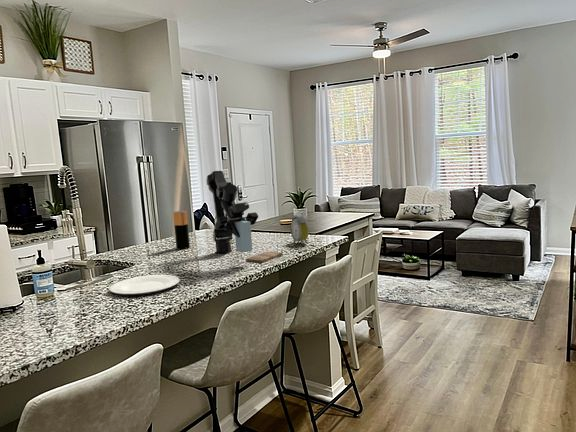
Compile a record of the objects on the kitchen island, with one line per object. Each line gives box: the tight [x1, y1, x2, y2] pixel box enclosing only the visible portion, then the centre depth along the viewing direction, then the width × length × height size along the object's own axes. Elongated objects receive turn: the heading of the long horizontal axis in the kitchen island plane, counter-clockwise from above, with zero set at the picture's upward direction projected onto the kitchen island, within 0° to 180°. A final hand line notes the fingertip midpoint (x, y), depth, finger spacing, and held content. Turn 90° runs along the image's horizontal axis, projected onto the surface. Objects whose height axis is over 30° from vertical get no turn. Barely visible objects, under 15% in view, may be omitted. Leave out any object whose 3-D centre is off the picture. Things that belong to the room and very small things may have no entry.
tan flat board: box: [245, 251, 283, 264], centre depth 206 cm, size 16×9×1 cm, turn 147°
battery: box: [172, 210, 191, 250], centre depth 241 cm, size 7×7×20 cm
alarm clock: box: [290, 213, 310, 246], centre depth 237 cm, size 12×7×15 cm, turn 25°
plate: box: [108, 274, 181, 296], centre depth 168 cm, size 25×25×2 cm
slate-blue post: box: [234, 221, 253, 254], centre depth 194 cm, size 5×5×12 cm
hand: (244, 236), depth 192 cm, fingers closed on slate-blue post, 5 cm apart
